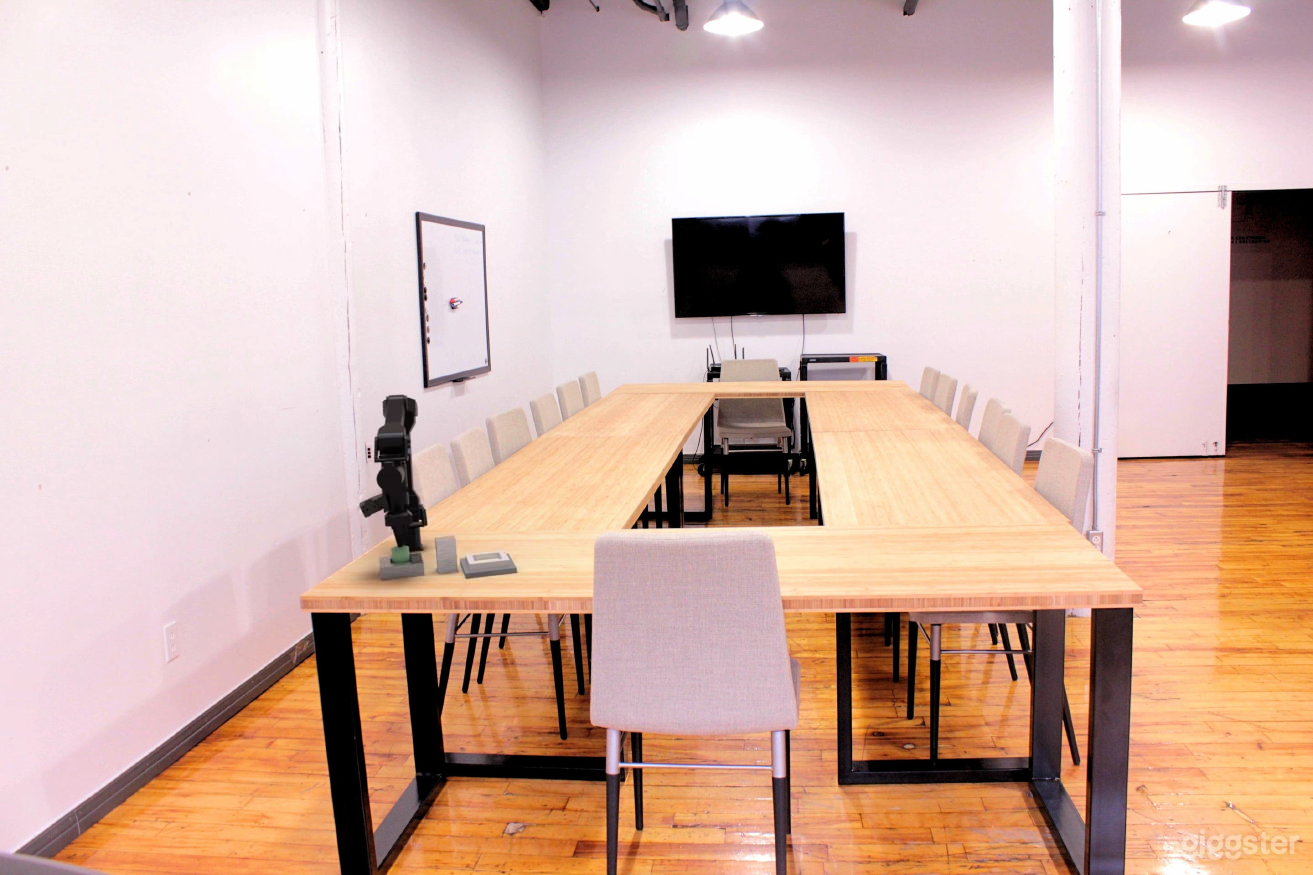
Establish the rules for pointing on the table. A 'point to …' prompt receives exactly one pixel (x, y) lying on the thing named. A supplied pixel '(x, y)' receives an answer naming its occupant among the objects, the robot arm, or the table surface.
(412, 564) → the square peg board
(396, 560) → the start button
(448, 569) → the block
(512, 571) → the grey slotted socket base
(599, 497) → the table surface
